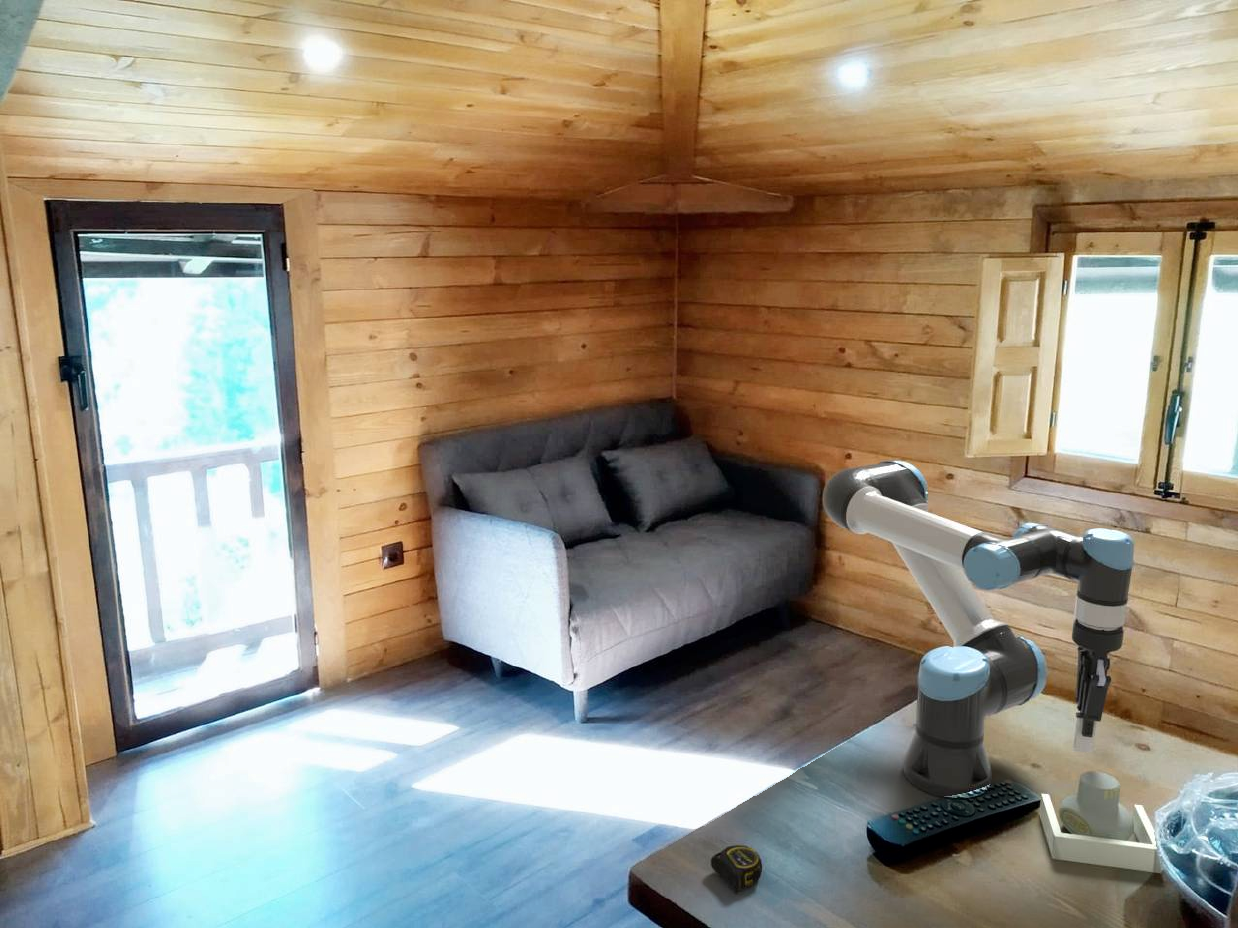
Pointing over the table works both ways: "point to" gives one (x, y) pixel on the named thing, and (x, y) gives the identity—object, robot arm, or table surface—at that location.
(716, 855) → the tape measure
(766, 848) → the table surface
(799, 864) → the table surface
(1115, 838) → the air freshener
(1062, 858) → the dock
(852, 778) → the table surface
